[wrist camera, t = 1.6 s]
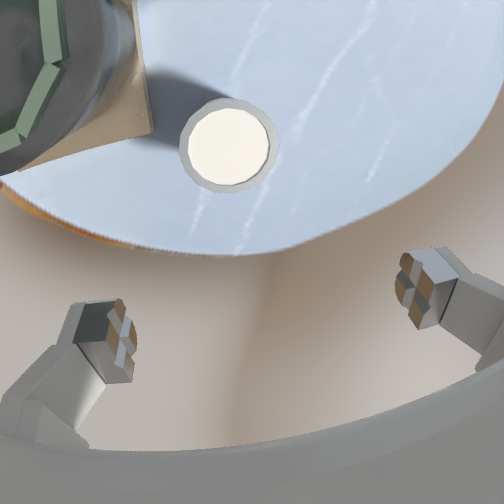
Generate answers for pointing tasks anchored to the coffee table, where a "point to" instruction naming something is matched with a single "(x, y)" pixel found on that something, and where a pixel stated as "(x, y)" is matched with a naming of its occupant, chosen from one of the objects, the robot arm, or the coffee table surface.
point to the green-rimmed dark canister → (69, 79)
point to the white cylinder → (228, 145)
